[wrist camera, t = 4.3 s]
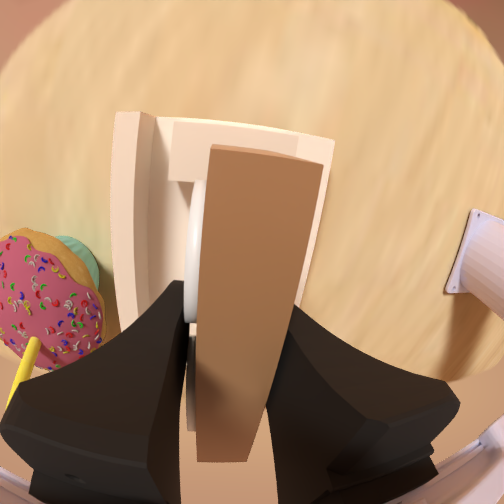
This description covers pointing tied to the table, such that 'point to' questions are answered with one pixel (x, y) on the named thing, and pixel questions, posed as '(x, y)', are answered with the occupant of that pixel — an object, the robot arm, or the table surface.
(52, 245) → the cupcake
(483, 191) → the table surface
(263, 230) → the brown wooden bar
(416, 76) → the table surface
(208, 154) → the cream lipped block
